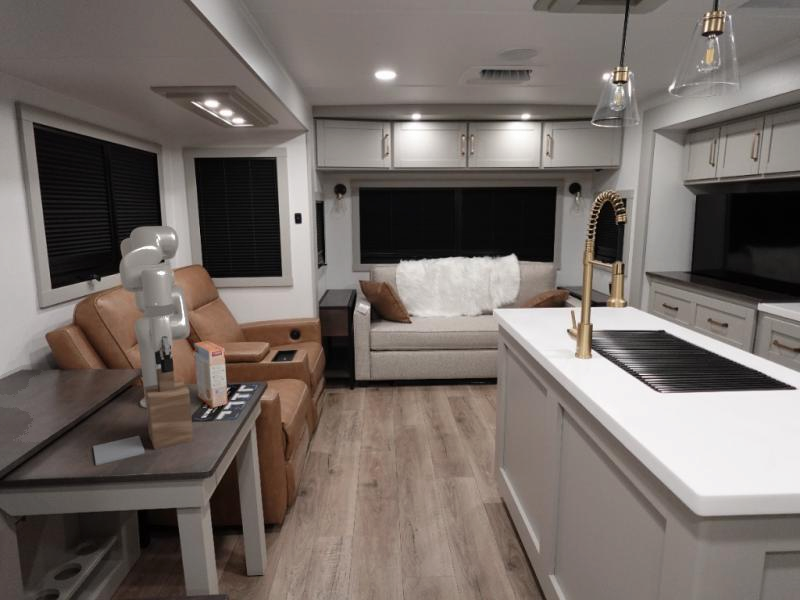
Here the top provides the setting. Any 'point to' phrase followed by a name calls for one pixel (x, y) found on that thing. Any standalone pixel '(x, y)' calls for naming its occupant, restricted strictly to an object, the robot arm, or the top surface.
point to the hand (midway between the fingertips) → (164, 367)
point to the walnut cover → (168, 411)
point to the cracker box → (211, 373)
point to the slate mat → (118, 450)
